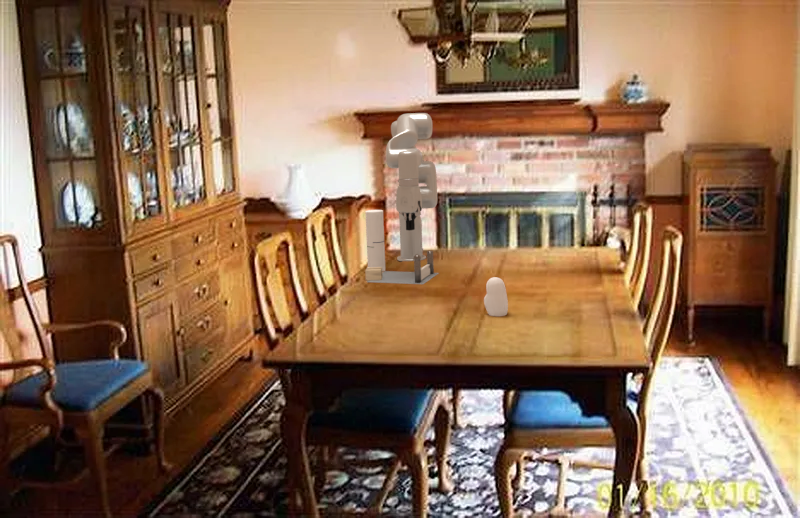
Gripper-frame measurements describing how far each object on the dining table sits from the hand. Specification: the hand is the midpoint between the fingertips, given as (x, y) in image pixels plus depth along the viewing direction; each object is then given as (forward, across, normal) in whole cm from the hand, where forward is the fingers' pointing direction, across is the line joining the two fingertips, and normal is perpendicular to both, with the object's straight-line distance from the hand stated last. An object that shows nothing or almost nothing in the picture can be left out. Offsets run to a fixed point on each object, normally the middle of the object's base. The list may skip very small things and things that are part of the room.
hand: (410, 229), depth 357 cm
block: (+18, -9, -12) cm, 24 cm away
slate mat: (+19, -2, -3) cm, 19 cm away
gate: (+18, +6, 0) cm, 19 cm away
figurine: (+19, +62, -25) cm, 70 cm away
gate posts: (+18, +6, +1) cm, 19 cm away
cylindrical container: (+19, -20, 0) cm, 28 cm away
